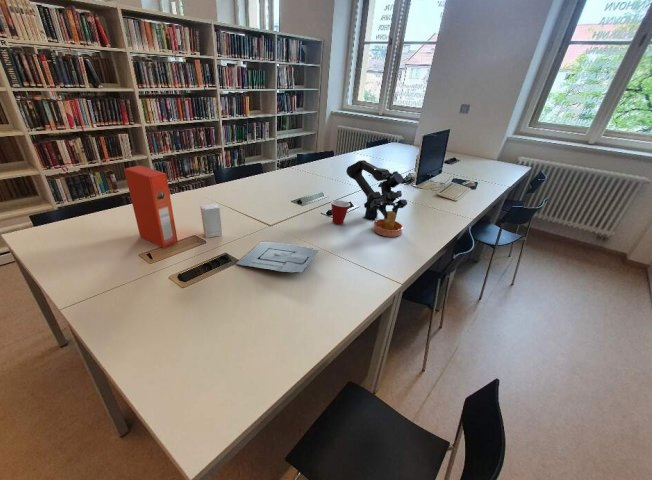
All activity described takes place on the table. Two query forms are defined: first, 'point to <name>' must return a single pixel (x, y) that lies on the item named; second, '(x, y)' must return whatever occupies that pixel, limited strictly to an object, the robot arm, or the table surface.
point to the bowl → (390, 233)
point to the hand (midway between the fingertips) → (390, 218)
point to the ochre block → (389, 220)
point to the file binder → (152, 205)
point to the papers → (279, 257)
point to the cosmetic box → (211, 220)
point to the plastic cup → (339, 211)
